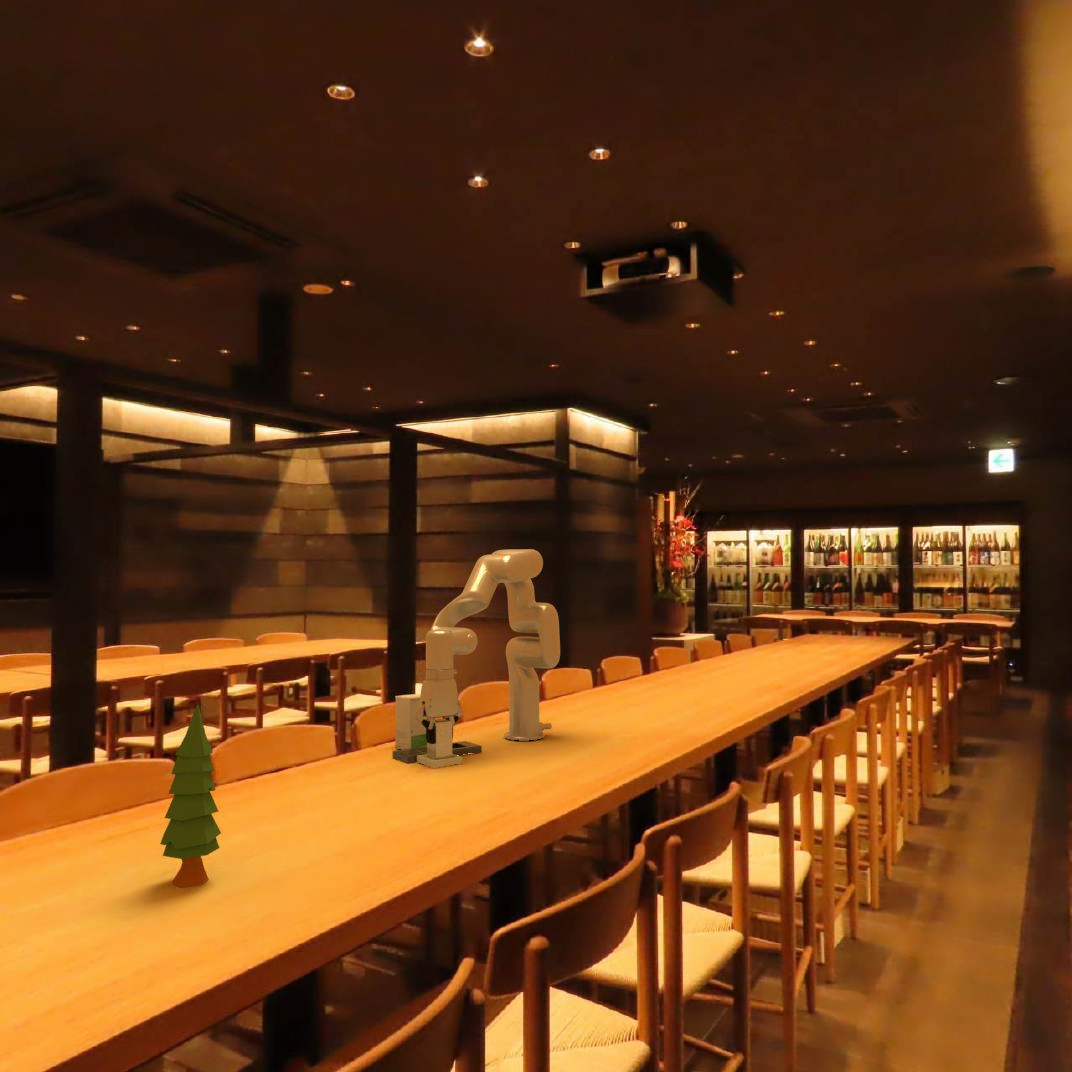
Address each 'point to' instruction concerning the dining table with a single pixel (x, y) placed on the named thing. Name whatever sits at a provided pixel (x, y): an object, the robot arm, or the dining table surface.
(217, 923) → the dining table surface
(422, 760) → the tray
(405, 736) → the skincare box
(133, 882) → the dining table surface
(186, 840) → the decorative tree
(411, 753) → the dark grey slotted base
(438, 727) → the tall white block
